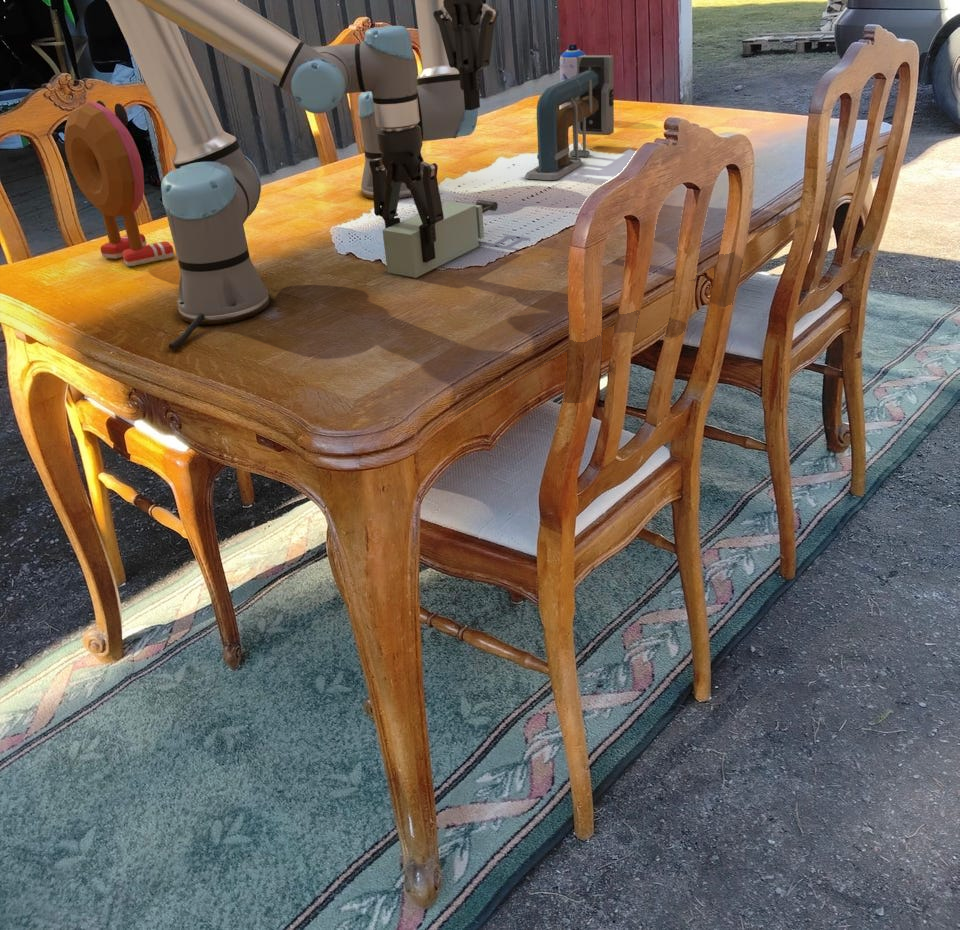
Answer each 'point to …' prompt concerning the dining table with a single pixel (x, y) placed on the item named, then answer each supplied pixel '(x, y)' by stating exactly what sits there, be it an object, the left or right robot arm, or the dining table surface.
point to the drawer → (481, 208)
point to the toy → (111, 178)
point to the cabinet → (451, 242)
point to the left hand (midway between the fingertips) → (413, 257)
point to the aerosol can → (569, 65)
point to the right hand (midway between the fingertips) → (472, 108)
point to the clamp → (574, 116)
